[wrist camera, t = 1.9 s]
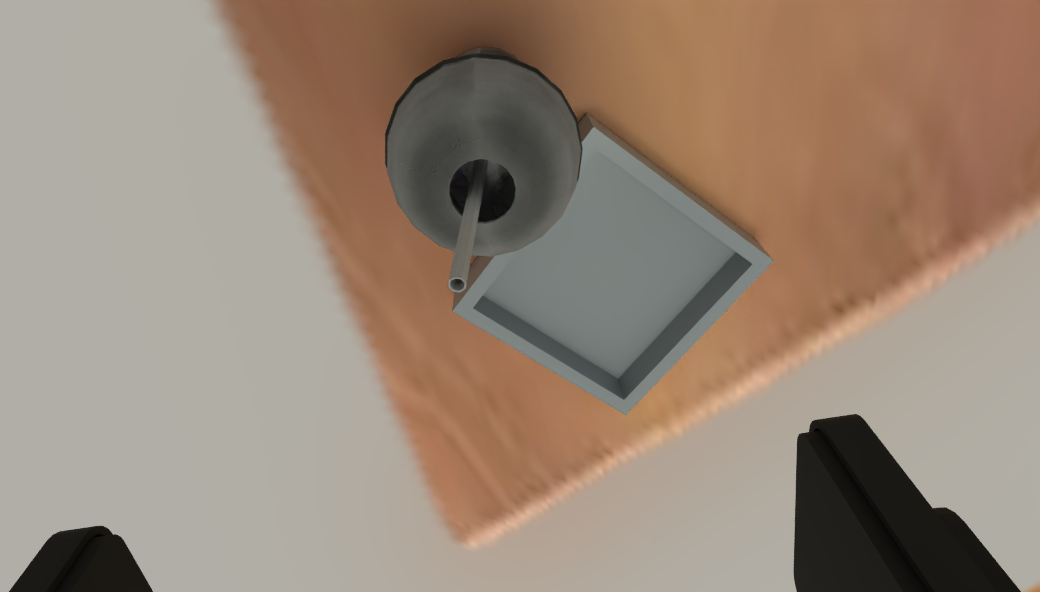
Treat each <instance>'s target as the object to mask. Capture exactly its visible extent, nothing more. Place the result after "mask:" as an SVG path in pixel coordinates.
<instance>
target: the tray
mask: <svg viewBox="0 0 1040 592" xmlns="http://www.w3.org/2000/svg"><path fill="white" fill-rule="evenodd" d="M578 126H579V132H580V137H581V142H582V147H583V151H582V158H581V166H580V174H579V179H578V181H577V185H576V188H575V191H574V193H573V195H572V197H571V199H570V201H569V203H568V205H567V207H566V209H565V211H564V213H563V216H562V217H561V218H560V219H559V220H558V221H557V222H556V223H555V224H554V225H553V226H552V227H551V228H550V229H549V230H548V231H547V233H546V234H545V235H544V236H542V237H541V238H539V239H537V240H536V241H534V242H532V243H530V244H529V245H527V246H525V247H523V248H522V249H520V250H518V251H514V252H510V253H506V254H501V255H497V256H492V257H488V256H478V257H477V258H476V260H475V261H474V262H473V264H472V265H471V266H470V268H469V272H468V278H467V284H466V289H465V290H463V291H462V292H454V300H453V310H452V312H454V313H456V314H457V315H459V316H461V317H462V318H464V319H466V320H467V321H469V322H471V323H472V324H474V325H476V326H478V327H479V328H481V329H483V330H484V331H486V332H488V333H489V334H491V335H493V336H494V337H496V338H498V339H499V340H501V341H503V342H504V343H506V344H508V345H509V346H511V347H513V348H514V349H516V350H518V351H519V352H521V353H523V354H524V355H526V356H528V357H529V358H531V359H533V360H534V361H536V362H538V363H539V364H541V365H543V366H544V367H546V368H548V369H549V370H551V371H553V372H554V373H556V374H558V375H559V376H561V377H563V378H564V379H566V380H568V381H569V382H571V383H573V384H574V385H576V386H578V387H579V388H581V389H583V390H584V391H586V392H588V393H589V394H591V395H593V396H594V397H596V398H598V399H599V400H601V401H603V402H604V403H606V404H608V405H610V406H611V407H613V408H615V409H616V410H618V411H620V412H621V413H623V414H625V415H627V414H628V413H629V411H630V410H631V409H632V408H633V407H634V406H635V405H636V404H637V403H638V402H639V401H640V400H641V399H642V398H643V397H644V396H645V395H646V394H647V393H648V392H649V391H650V390H651V389H652V387H653V386H654V385H655V384H656V383H657V382H658V381H659V380H660V379H661V378H662V377H663V376H664V375H665V374H666V373H667V372H668V371H669V370H670V369H671V368H672V367H673V366H674V365H675V363H676V362H677V361H678V360H679V359H680V358H681V357H682V356H683V355H684V354H685V353H686V352H687V351H688V350H689V349H690V348H691V347H692V346H693V345H694V344H695V343H696V342H697V341H698V339H699V338H700V337H701V336H702V335H703V334H704V333H705V332H706V331H707V330H708V329H709V328H710V327H711V326H712V325H713V324H714V323H715V322H716V321H717V320H718V319H719V318H720V317H721V315H722V314H723V313H724V312H725V311H726V310H727V309H728V308H729V307H730V306H731V305H732V304H733V303H734V302H735V301H736V300H737V299H738V298H739V297H740V296H741V295H742V294H743V293H744V291H745V290H746V289H747V288H748V287H749V286H750V285H751V284H752V283H753V282H754V281H755V280H756V279H757V278H758V277H759V276H760V275H761V274H762V273H763V272H764V271H765V270H766V269H767V267H768V266H769V265H770V264H771V263H772V262H773V261H774V260H773V259H772V258H771V257H770V256H769V254H768V253H767V252H766V251H765V250H764V249H763V247H762V246H761V245H760V244H759V243H758V242H757V240H756V239H755V238H753V237H752V236H751V235H749V234H748V233H747V232H745V231H744V230H743V229H741V228H740V227H739V226H737V225H736V224H735V223H733V222H732V221H730V220H729V219H728V218H726V217H725V216H724V215H722V214H721V213H720V212H718V211H717V210H716V209H714V208H713V207H712V206H710V205H709V204H708V203H706V202H705V201H704V200H702V199H701V198H700V197H698V196H697V195H696V194H694V193H693V192H692V191H690V190H689V189H688V188H686V187H685V186H684V185H682V184H681V183H680V182H678V181H677V180H676V179H674V178H673V177H672V176H670V175H669V174H668V173H666V172H665V171H664V170H662V169H661V168H660V167H658V166H657V165H656V164H654V163H653V162H652V161H650V160H649V159H648V158H646V157H645V156H644V155H642V154H641V153H640V152H638V151H637V150H636V149H634V148H633V147H632V146H630V145H629V144H628V143H626V142H625V141H624V140H622V139H621V138H620V137H618V136H617V135H616V134H614V133H613V132H612V131H610V130H609V129H608V128H606V127H605V126H604V125H602V124H601V123H600V122H598V121H597V120H596V119H594V118H593V117H592V116H590V115H589V114H588V113H586V114H585V115H584V117H583V118H582V119H581V121H580V122H579V123H578Z"/></svg>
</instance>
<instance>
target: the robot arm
mask: <svg viewBox="0 0 1040 592" xmlns="http://www.w3.org/2000/svg"><path fill="white" fill-rule="evenodd" d="M795 506H796V507H795V543H794V544H795V545H794V580H795V586H796V589H797V592H1021V591H1020V590H1019V589H1018V588H1017V586H1016V585H1015V584H1014V583H1013V581H1012V580H1011V579H1010V578H1009V576H1008V575H1007V574H1006V573H1005V571H1004V570H1003V569H1002V568H1001V567H1000V565H999V564H998V563H997V562H996V560H995V559H994V558H993V557H992V555H991V554H990V553H989V552H988V550H987V549H986V548H985V547H984V546H983V544H982V543H981V542H980V541H979V539H978V538H977V537H976V536H975V534H974V533H973V532H972V531H971V529H970V528H969V527H968V526H967V524H966V523H965V522H964V521H963V520H962V519H961V518H960V517H959V516H958V515H957V514H956V513H955V512H953V511H951V510H949V509H948V508H932V507H931V506H930V504H929V503H928V502H927V501H926V499H925V498H924V497H923V495H922V494H921V493H920V491H919V490H918V489H917V488H916V486H915V485H914V484H913V482H912V481H911V480H910V479H909V477H908V476H907V475H906V473H905V472H904V471H903V469H902V468H901V467H900V466H899V464H898V463H897V462H896V460H895V459H894V458H893V456H892V455H891V454H890V453H889V451H888V450H887V449H886V447H885V446H884V445H883V444H882V442H881V441H880V440H879V439H878V437H877V436H876V434H875V433H874V432H873V431H872V429H871V428H870V427H869V426H868V424H867V423H866V421H865V420H864V419H863V418H862V417H861V416H859V415H857V414H853V415H847V416H840V417H833V418H826V419H819V420H814V421H812V423H811V424H810V429H809V432H808V433H802V434H799V436H798V439H797V466H796V505H795ZM9 592H153V591H152V589H151V587H150V585H149V584H148V582H147V580H146V579H145V577H144V575H143V573H142V572H141V570H140V568H139V566H138V565H137V563H136V561H135V559H134V558H133V556H132V554H131V552H130V551H129V549H128V547H127V545H126V544H125V542H124V540H123V539H122V538H121V537H120V536H118V535H113V534H112V533H111V531H110V530H109V529H108V528H106V527H104V526H94V527H88V528H81V529H74V530H67V531H60V532H58V533H56V534H54V535H52V536H51V537H50V538H49V539H48V540H47V541H46V543H45V544H44V545H43V547H42V548H41V550H40V551H39V552H38V554H37V555H36V556H35V558H34V559H33V561H32V562H31V563H30V564H29V566H28V567H27V568H26V570H25V571H24V572H23V574H22V575H21V576H20V578H19V579H18V580H17V582H16V583H15V584H14V586H13V587H12V588H11V590H10V591H9Z"/></svg>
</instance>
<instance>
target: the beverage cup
mask: <svg viewBox="0 0 1040 592" xmlns="http://www.w3.org/2000/svg"><path fill="white" fill-rule="evenodd" d="M582 151H583V147H582V142H581V137H580V132H579V126H578V121H577V118H576V116H575V114H574V112H573V111H572V109H571V107H570V105H569V103H568V102H567V100H566V98H565V96H564V94H563V93H562V91H561V90H560V89H559V88H558V87H557V86H556V85H554V84H553V83H552V82H551V81H550V80H549V79H548V78H547V77H546V76H545V75H543V74H542V73H541V72H540V71H539V70H538V69H536V68H534V67H532V66H529V65H527V64H525V63H522V62H520V61H518V60H517V59H516V58H515V57H514V56H513V55H511V54H509V53H506V52H504V51H502V50H500V49H497V48H489V47H480V48H476V49H472V50H468V51H465V52H464V53H462V54H461V55H459V56H458V57H456V58H452V59H448V60H444V61H441V62H440V63H438V64H437V65H435V66H434V67H432V68H431V69H429V70H427V71H426V72H424V73H423V74H421V75H420V76H418V77H417V78H415V79H414V80H413V82H412V83H411V84H410V86H409V87H408V88H407V89H406V91H405V92H404V93H403V95H402V96H401V97H400V98H399V100H398V101H397V102H396V104H395V106H394V109H393V112H392V115H391V118H390V121H389V124H388V127H387V130H386V133H385V164H386V167H387V172H388V176H389V179H390V182H391V185H392V188H393V191H394V194H395V197H396V200H397V203H398V205H399V206H400V208H401V209H402V210H403V212H404V213H405V215H406V216H407V217H408V219H409V220H410V221H411V223H412V224H413V226H414V227H415V228H416V229H418V230H419V231H420V232H422V233H423V234H424V235H426V236H427V237H428V238H430V239H431V240H432V241H434V242H435V243H436V244H438V245H439V246H442V247H444V248H447V249H450V250H452V251H455V254H454V259H453V264H452V268H451V273H450V278H449V284H448V287H449V288H450V289H451V290H452V291H453V292H462V291H463V290H465V289H466V284H467V278H468V272H469V267H470V261H471V256H472V255H473V256H488V257H492V256H497V255H501V254H506V253H510V252H514V251H518V250H520V249H522V248H523V247H525V246H527V245H529V244H530V243H532V242H534V241H536V240H537V239H539V238H541V237H542V236H544V235H545V234H546V233H547V231H548V230H549V229H550V228H551V227H552V226H553V225H554V224H555V223H556V222H557V221H558V220H559V219H560V218H561V217H562V216H563V213H564V211H565V209H566V207H567V205H568V203H569V201H570V199H571V197H572V195H573V193H574V191H575V188H576V185H577V181H578V179H579V174H580V166H581V158H582Z"/></svg>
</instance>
